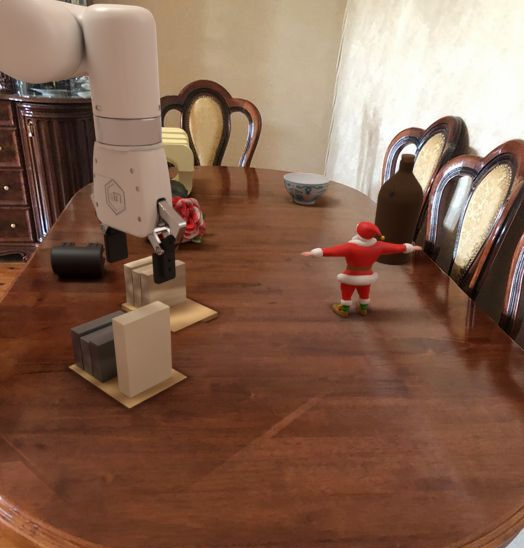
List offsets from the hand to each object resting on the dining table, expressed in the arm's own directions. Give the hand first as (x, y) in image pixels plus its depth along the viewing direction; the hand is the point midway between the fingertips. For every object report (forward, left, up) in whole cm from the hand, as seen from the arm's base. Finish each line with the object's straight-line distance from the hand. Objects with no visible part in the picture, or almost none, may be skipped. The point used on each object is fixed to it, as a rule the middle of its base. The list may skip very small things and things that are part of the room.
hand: (140, 270), depth 70 cm
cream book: (0, 0, -18) cm, 18 cm away
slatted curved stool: (-83, +76, -19) cm, 114 cm away
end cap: (-43, +17, -19) cm, 50 cm away
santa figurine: (+8, +45, -19) cm, 49 cm away
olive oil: (-2, +79, -19) cm, 81 cm away
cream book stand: (-17, +19, -19) cm, 31 cm away
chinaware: (-47, +104, -19) cm, 115 cm away
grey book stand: (-5, 0, -19) cm, 20 cm away
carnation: (-54, +52, -19) cm, 77 cm away
